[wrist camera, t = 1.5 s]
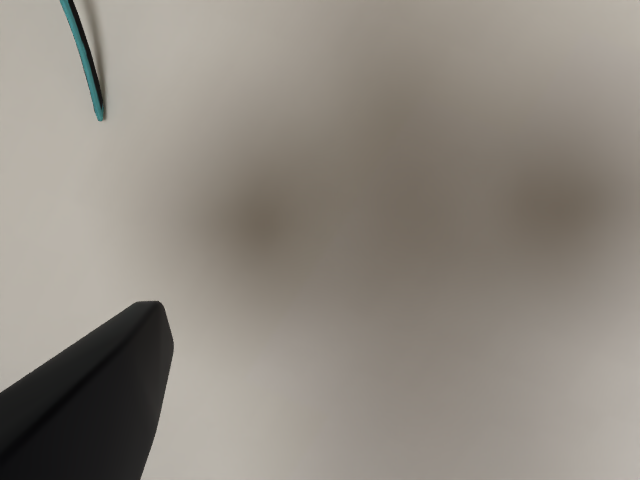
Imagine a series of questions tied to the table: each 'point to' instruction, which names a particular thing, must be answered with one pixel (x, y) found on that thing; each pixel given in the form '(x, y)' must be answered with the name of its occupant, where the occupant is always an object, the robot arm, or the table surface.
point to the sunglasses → (84, 56)
